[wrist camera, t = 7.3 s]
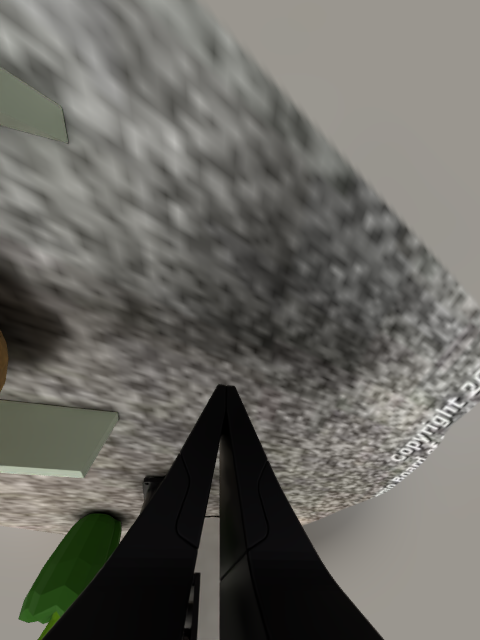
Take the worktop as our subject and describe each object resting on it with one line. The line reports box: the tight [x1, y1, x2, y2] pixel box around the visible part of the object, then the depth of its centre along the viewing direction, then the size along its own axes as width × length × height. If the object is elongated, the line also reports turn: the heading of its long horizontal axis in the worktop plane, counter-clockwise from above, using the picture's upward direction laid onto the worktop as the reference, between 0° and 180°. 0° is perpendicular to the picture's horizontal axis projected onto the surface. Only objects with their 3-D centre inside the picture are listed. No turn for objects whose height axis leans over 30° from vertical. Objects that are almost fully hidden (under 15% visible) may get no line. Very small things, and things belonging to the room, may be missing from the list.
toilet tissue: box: [194, 517, 220, 640], centre depth 26 cm, size 11×12×10 cm
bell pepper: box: [19, 514, 122, 640], centre depth 22 cm, size 8×8×10 cm
